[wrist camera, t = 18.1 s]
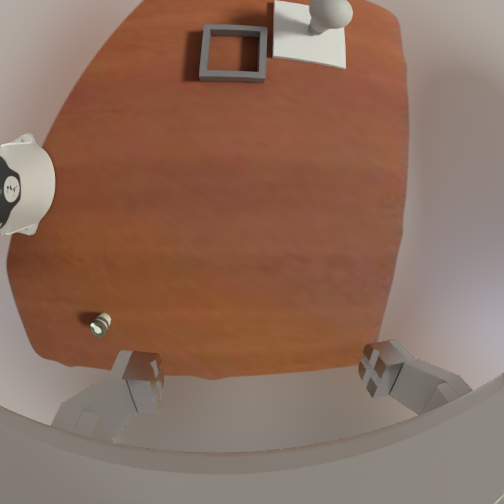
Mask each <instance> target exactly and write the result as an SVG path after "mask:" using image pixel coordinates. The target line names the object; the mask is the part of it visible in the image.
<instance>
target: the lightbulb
mask: <svg viewBox="0 0 504 504" xmlns="http://www.w3.org/2000/svg"><path fill="white" fill-rule="evenodd" d="M309 13H310V15H311V20H310V24H309V26H308V30H309V32H310V33H312V34H313V35H321V34H322V33H323V32H326V31H327V30H329V29H339V28H342V27H344V26H346V25H347V24H348V23H349V22H350V21H351V19H352V15H353V11H352V8H351V6H350V4H349V2H348V1H347V0H311V2H310V4H309Z"/></svg>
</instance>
